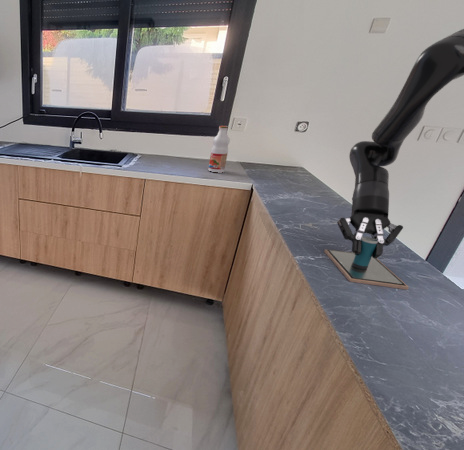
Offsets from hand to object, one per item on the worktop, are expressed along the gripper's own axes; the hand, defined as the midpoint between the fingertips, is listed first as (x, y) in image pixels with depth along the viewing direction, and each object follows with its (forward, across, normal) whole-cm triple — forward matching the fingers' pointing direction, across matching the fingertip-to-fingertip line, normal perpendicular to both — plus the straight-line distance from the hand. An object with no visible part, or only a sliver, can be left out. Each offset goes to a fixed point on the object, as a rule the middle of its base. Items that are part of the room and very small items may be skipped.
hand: (366, 255), depth 84 cm
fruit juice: (-76, -48, +83) cm, 122 cm away
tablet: (+2, +1, +6) cm, 6 cm away
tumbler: (+2, 0, +4) cm, 5 cm away
